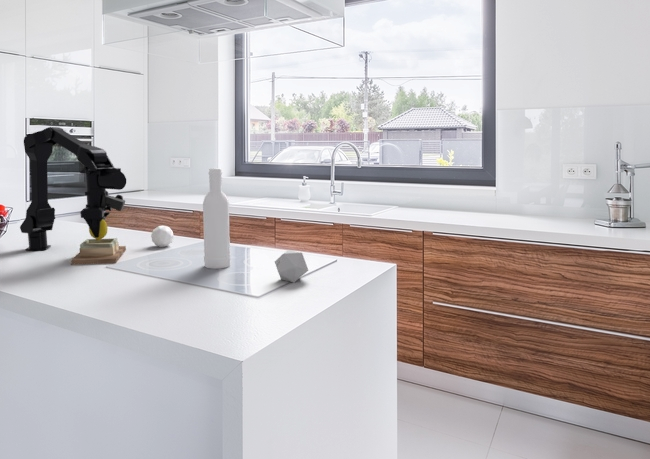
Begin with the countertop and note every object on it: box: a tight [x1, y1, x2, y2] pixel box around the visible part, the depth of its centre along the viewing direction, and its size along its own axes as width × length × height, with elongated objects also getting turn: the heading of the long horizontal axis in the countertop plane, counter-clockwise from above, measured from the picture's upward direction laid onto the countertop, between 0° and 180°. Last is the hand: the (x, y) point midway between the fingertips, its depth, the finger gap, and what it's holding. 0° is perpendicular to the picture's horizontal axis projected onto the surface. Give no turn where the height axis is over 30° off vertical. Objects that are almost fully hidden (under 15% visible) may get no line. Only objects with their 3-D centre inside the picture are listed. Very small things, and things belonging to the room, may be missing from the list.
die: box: [274, 249, 309, 283], centre depth 145 cm, size 8×9×10 cm
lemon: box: [88, 219, 108, 241], centre depth 170 cm, size 6×6×8 cm
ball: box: [150, 225, 174, 248], centre depth 189 cm, size 8×8×8 cm
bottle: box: [202, 167, 231, 270], centre depth 158 cm, size 8×8×30 cm
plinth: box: [70, 237, 127, 266], centre depth 171 cm, size 20×13×5 cm, turn 12°
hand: (98, 235), depth 170 cm, fingers closed on lemon, 5 cm apart
